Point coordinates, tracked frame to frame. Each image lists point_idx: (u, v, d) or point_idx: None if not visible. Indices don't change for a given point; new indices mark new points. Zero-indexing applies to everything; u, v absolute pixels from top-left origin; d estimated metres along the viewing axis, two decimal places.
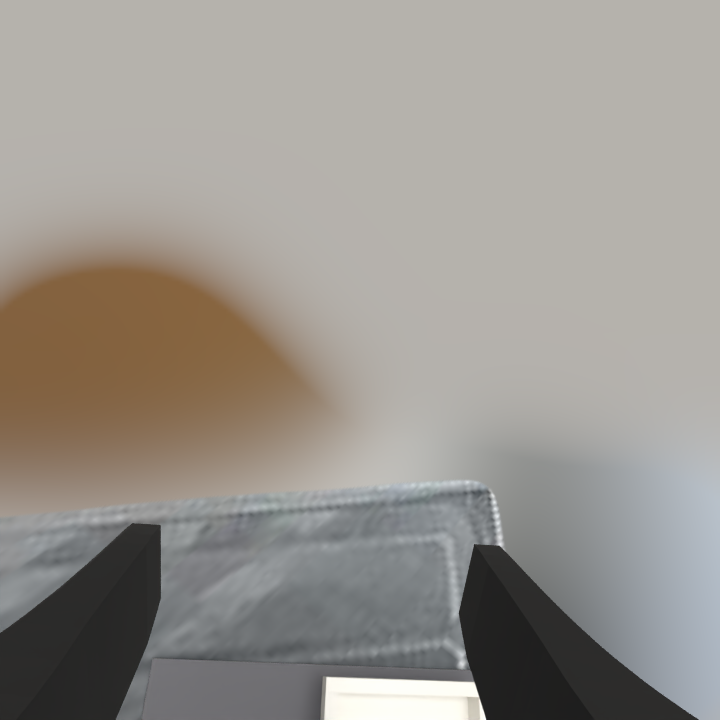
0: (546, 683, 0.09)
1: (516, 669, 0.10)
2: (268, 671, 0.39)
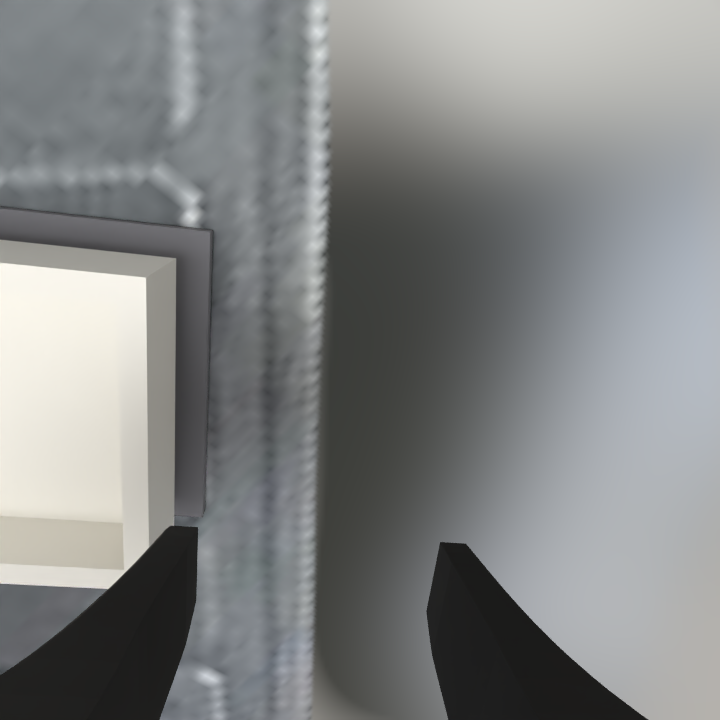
0: (499, 681, 0.09)
1: (474, 667, 0.10)
2: None
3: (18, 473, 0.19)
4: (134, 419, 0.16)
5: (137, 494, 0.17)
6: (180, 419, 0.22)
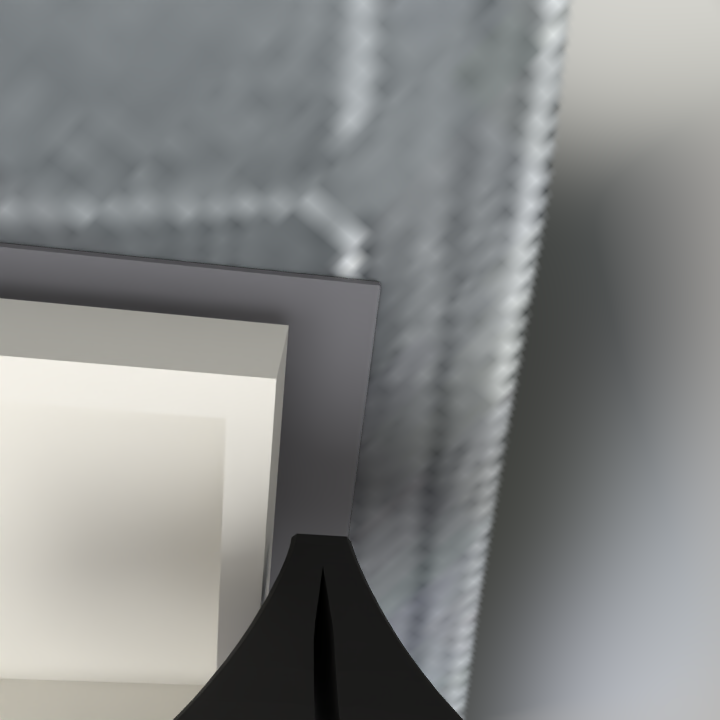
0: (331, 675, 0.09)
1: (325, 662, 0.10)
2: None
3: (54, 625, 0.14)
4: (242, 585, 0.11)
5: None
6: (317, 530, 0.16)
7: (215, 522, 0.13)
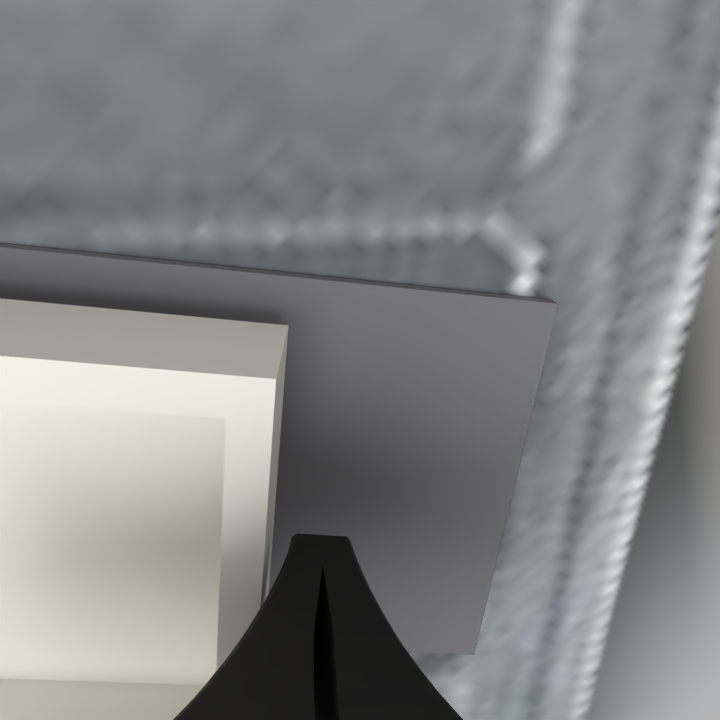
0: (331, 675, 0.09)
1: (324, 662, 0.10)
2: None
3: (54, 625, 0.14)
4: (242, 584, 0.11)
5: None
6: (470, 539, 0.17)
7: (215, 522, 0.13)
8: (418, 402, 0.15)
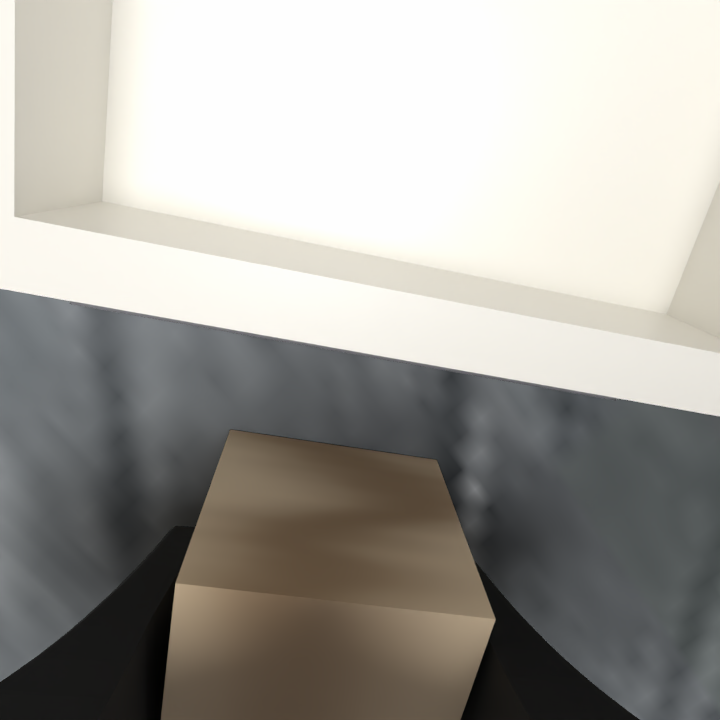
0: (491, 681, 0.09)
1: None
2: None
3: None
4: None
5: None
6: None
7: None
8: None
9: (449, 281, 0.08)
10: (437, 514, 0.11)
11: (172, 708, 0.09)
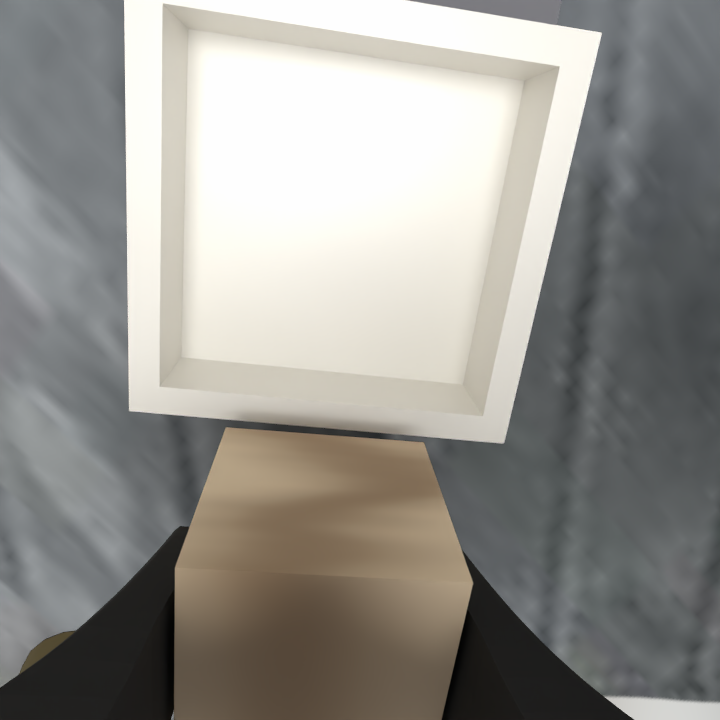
0: (486, 681, 0.09)
1: (462, 667, 0.10)
2: None
3: (433, 233, 0.16)
4: (325, 6, 0.12)
5: (440, 23, 0.12)
6: None
7: (336, 73, 0.15)
8: None
9: (343, 384, 0.17)
10: (422, 492, 0.12)
11: (183, 683, 0.10)
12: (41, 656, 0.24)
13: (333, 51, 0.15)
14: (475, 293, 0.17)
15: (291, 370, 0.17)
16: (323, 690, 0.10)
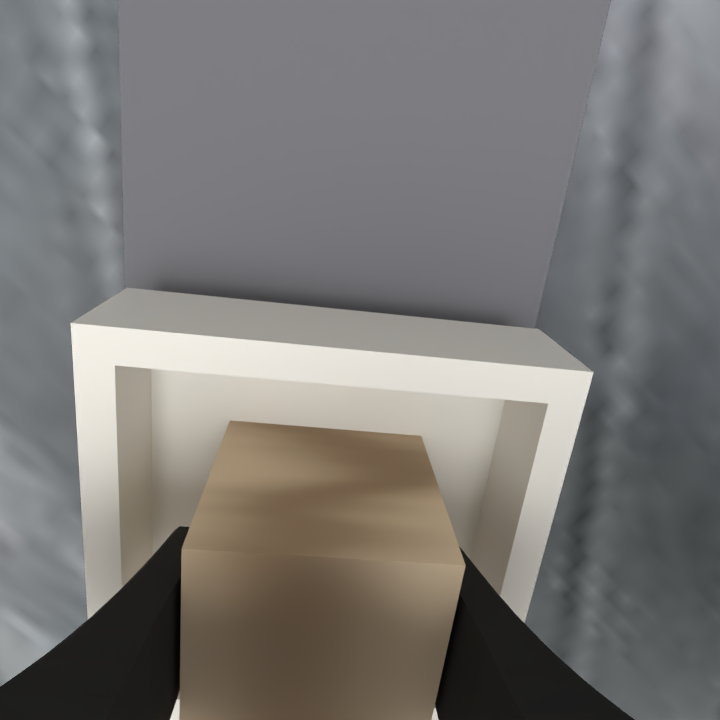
0: (487, 681, 0.09)
1: (463, 667, 0.10)
2: None
3: None
4: (291, 361, 0.11)
5: (417, 371, 0.11)
6: None
7: None
8: None
9: None
10: (418, 482, 0.12)
11: (189, 661, 0.10)
12: None
13: None
14: None
15: None
16: (322, 670, 0.11)
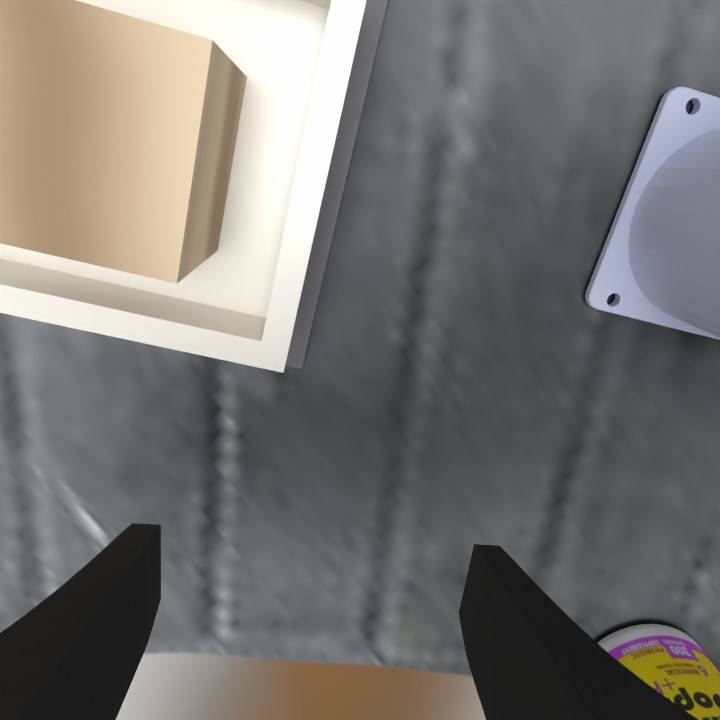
0: (546, 683, 0.09)
1: (516, 669, 0.10)
2: None
3: (239, 156, 0.16)
4: None
5: None
6: None
7: None
8: None
9: (135, 298, 0.17)
10: None
11: None
12: None
13: None
14: (283, 225, 0.17)
15: (88, 279, 0.17)
16: (79, 146, 0.11)
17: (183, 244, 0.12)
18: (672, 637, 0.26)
